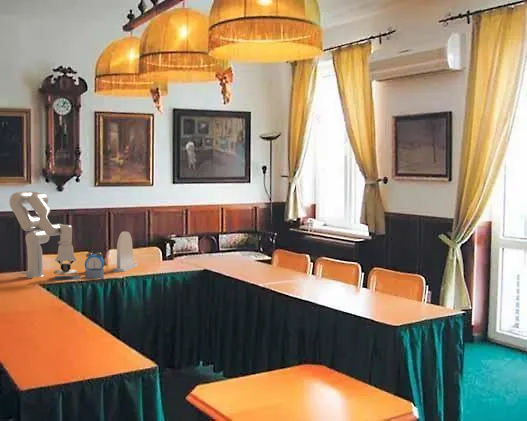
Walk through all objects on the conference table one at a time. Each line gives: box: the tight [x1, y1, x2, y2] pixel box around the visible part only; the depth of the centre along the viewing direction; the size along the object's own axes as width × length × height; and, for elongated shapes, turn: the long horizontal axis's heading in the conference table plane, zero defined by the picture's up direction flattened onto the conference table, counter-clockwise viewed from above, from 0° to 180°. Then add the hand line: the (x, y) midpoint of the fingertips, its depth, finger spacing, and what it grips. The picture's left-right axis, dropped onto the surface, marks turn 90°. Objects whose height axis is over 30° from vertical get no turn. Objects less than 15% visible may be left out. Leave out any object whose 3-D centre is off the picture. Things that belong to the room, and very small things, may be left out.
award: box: [112, 231, 139, 273], centre depth 478 cm, size 28×9×28 cm, turn 170°
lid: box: [53, 263, 78, 276], centre depth 436 cm, size 15×15×6 cm
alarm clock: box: [84, 251, 105, 269], centre depth 458 cm, size 13×6×15 cm, turn 99°
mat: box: [52, 274, 82, 281], centre depth 436 cm, size 17×17×1 cm
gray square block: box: [84, 268, 105, 280], centre depth 439 cm, size 12×12×6 cm
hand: (65, 270), depth 436 cm, fingers closed on lid, 3 cm apart
